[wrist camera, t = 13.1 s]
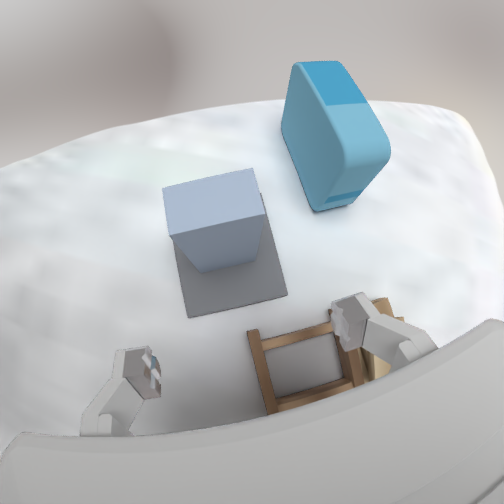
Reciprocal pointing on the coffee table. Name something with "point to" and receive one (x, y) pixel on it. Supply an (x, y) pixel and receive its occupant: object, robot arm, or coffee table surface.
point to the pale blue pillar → (216, 219)
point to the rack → (350, 381)
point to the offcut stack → (369, 361)
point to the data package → (331, 134)
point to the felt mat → (233, 280)
